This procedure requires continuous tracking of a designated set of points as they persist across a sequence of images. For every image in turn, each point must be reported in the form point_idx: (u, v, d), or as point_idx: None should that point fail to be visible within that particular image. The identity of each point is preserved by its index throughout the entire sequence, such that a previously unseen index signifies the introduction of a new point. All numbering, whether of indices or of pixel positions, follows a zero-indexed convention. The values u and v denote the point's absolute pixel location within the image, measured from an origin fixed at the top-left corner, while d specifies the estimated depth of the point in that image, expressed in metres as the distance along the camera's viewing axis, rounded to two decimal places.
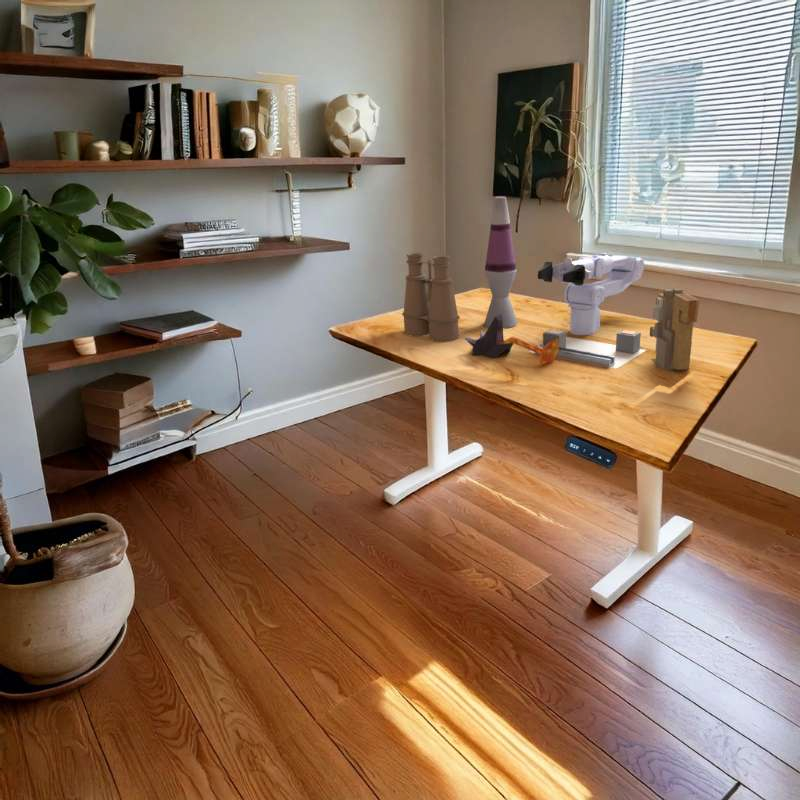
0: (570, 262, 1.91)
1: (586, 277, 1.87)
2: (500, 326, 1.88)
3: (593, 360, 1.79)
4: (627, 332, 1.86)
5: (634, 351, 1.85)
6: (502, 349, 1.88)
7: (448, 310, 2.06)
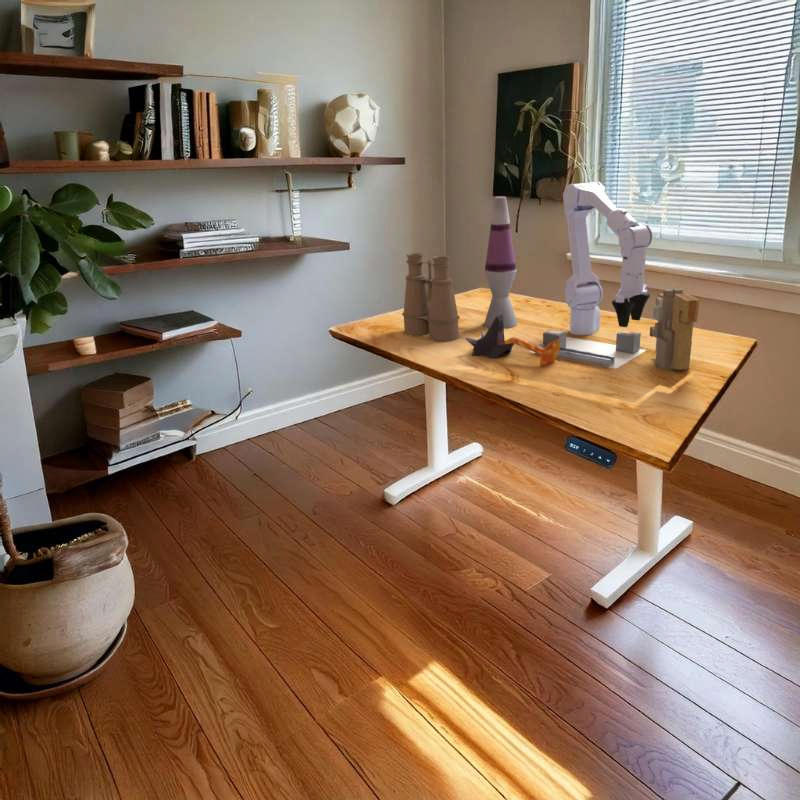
0: None
1: None
2: (501, 326, 1.88)
3: (593, 360, 1.79)
4: (627, 332, 1.86)
5: (634, 351, 1.85)
6: (503, 349, 1.87)
7: (448, 310, 2.06)
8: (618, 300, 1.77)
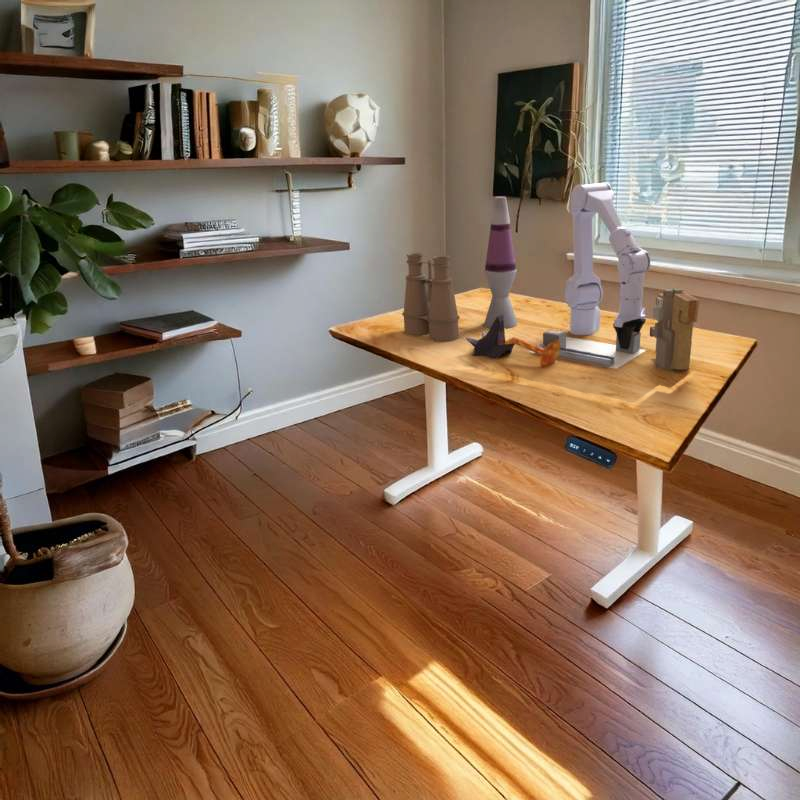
0: None
1: None
2: (501, 326, 1.88)
3: (593, 360, 1.79)
4: None
5: (634, 351, 1.85)
6: (503, 350, 1.87)
7: (448, 310, 2.06)
8: (616, 325, 1.80)
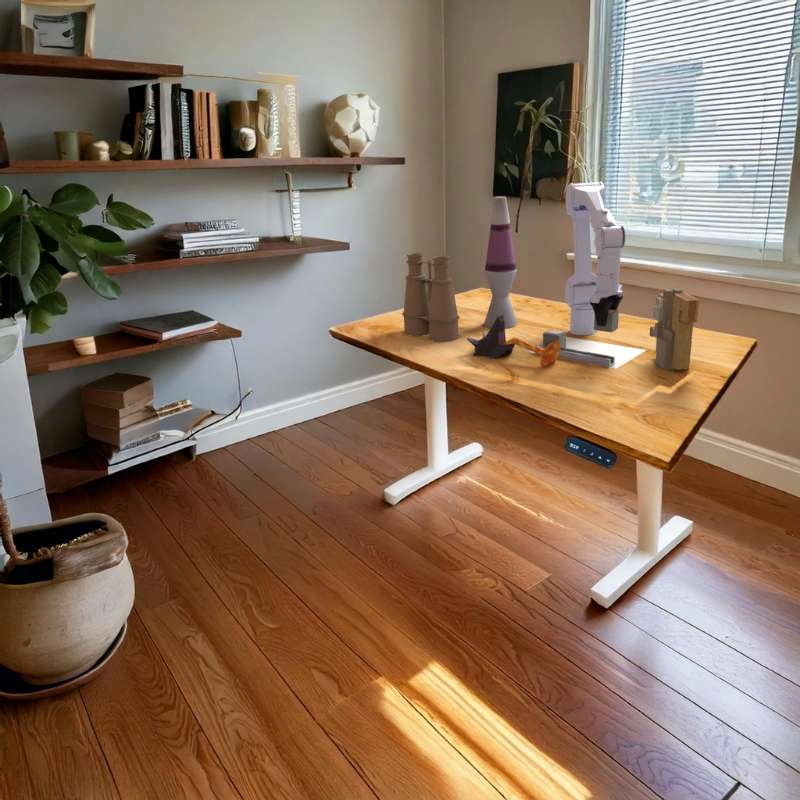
0: None
1: None
2: (502, 326, 1.88)
3: (593, 360, 1.79)
4: None
5: (612, 329, 1.82)
6: (504, 350, 1.87)
7: (448, 310, 2.06)
8: (593, 300, 1.77)
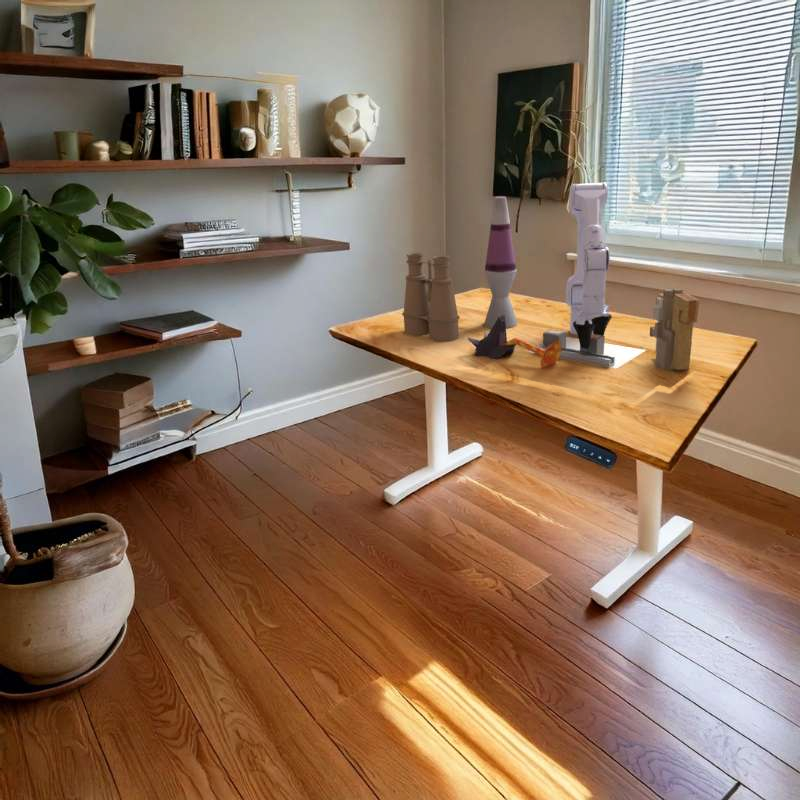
0: None
1: None
2: (503, 326, 1.87)
3: (593, 360, 1.79)
4: (591, 335, 1.85)
5: None
6: (505, 350, 1.87)
7: (448, 310, 2.06)
8: (578, 322, 1.79)
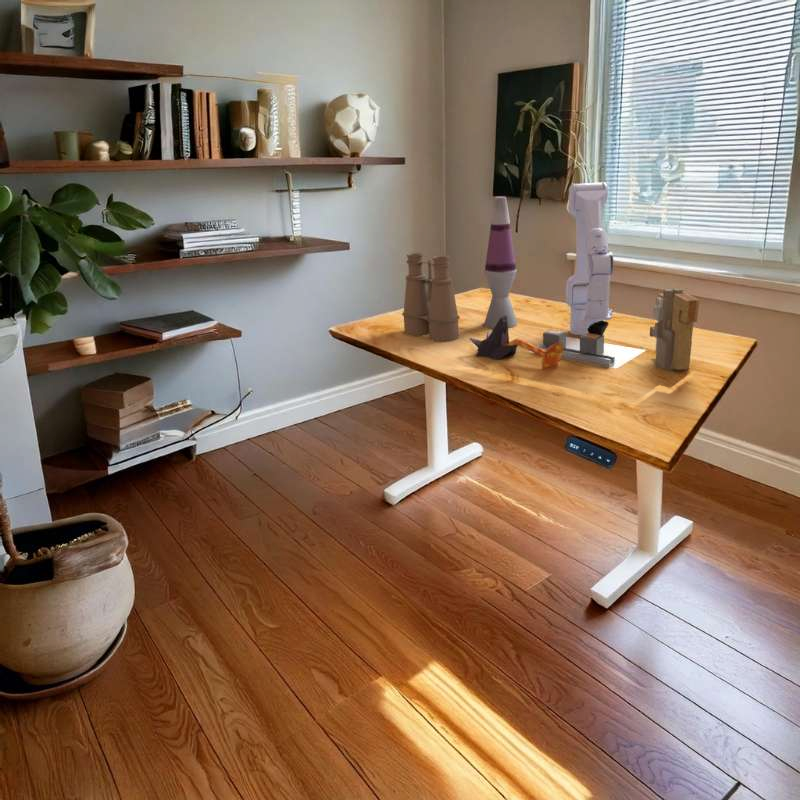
0: None
1: None
2: (505, 327, 1.87)
3: (593, 360, 1.79)
4: (590, 335, 1.85)
5: None
6: (506, 351, 1.86)
7: (448, 310, 2.06)
8: (583, 326, 1.81)
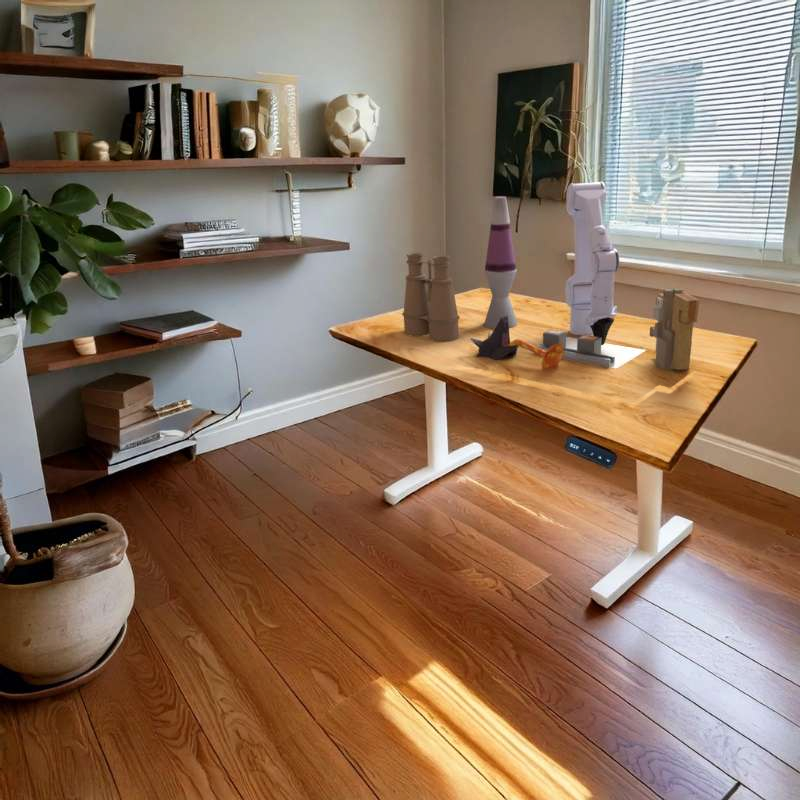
0: None
1: None
2: (506, 327, 1.86)
3: (593, 360, 1.79)
4: (588, 337, 1.84)
5: None
6: (507, 351, 1.86)
7: (448, 310, 2.06)
8: (587, 323, 1.82)
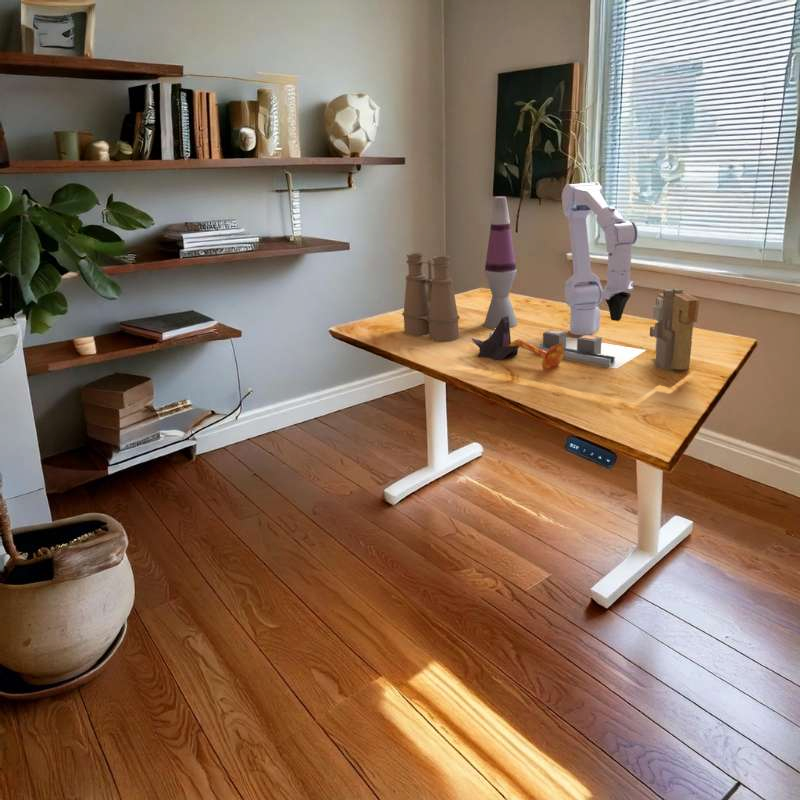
0: None
1: None
2: (506, 328, 1.86)
3: (593, 360, 1.79)
4: (588, 337, 1.84)
5: None
6: (508, 351, 1.86)
7: (448, 310, 2.06)
8: (604, 297, 1.78)
